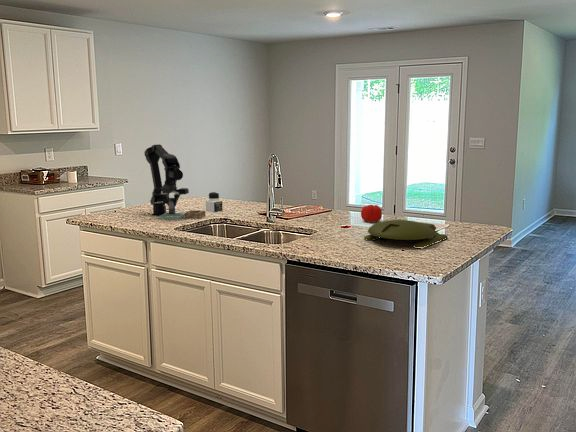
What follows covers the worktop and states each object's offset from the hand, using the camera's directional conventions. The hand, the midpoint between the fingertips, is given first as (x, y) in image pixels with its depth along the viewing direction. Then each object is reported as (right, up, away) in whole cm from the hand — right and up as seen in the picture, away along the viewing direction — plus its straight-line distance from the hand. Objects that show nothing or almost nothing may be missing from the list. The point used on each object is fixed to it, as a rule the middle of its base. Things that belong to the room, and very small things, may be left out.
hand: (171, 206), depth 320 cm
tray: (0, -7, +1) cm, 8 cm away
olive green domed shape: (+119, -18, -52) cm, 132 cm away
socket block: (+13, -7, +2) cm, 15 cm away
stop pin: (0, -4, +1) cm, 5 cm away
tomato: (+111, -9, -7) cm, 112 cm away
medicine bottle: (+21, -4, +23) cm, 31 cm away
